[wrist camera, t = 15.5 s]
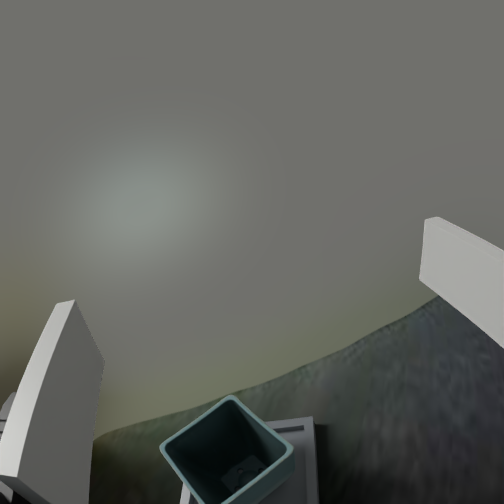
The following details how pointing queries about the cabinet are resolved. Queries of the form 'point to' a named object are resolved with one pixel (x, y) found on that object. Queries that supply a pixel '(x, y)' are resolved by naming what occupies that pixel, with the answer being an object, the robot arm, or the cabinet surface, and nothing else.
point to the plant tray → (306, 470)
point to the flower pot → (229, 455)
